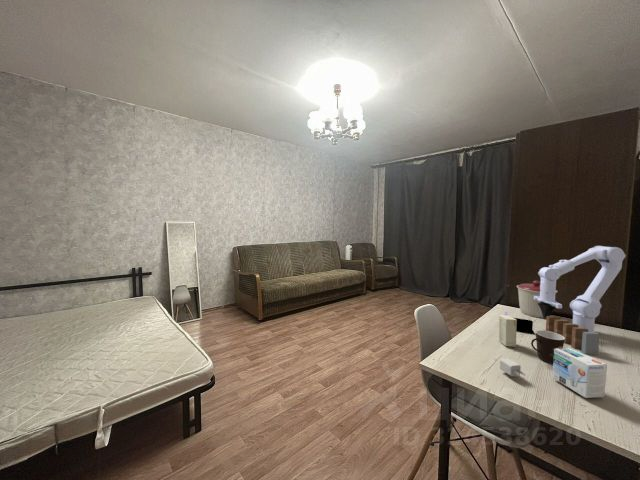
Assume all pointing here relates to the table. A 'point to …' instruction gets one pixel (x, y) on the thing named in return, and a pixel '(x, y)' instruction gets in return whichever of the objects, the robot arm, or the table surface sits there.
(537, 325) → the table surface
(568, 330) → the domino
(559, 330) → the domino
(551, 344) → the coffee mug
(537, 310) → the canister
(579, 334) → the domino
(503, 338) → the skincare box
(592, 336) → the domino
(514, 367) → the usb wall charger
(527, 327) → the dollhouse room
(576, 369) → the light bulb box
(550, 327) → the domino
